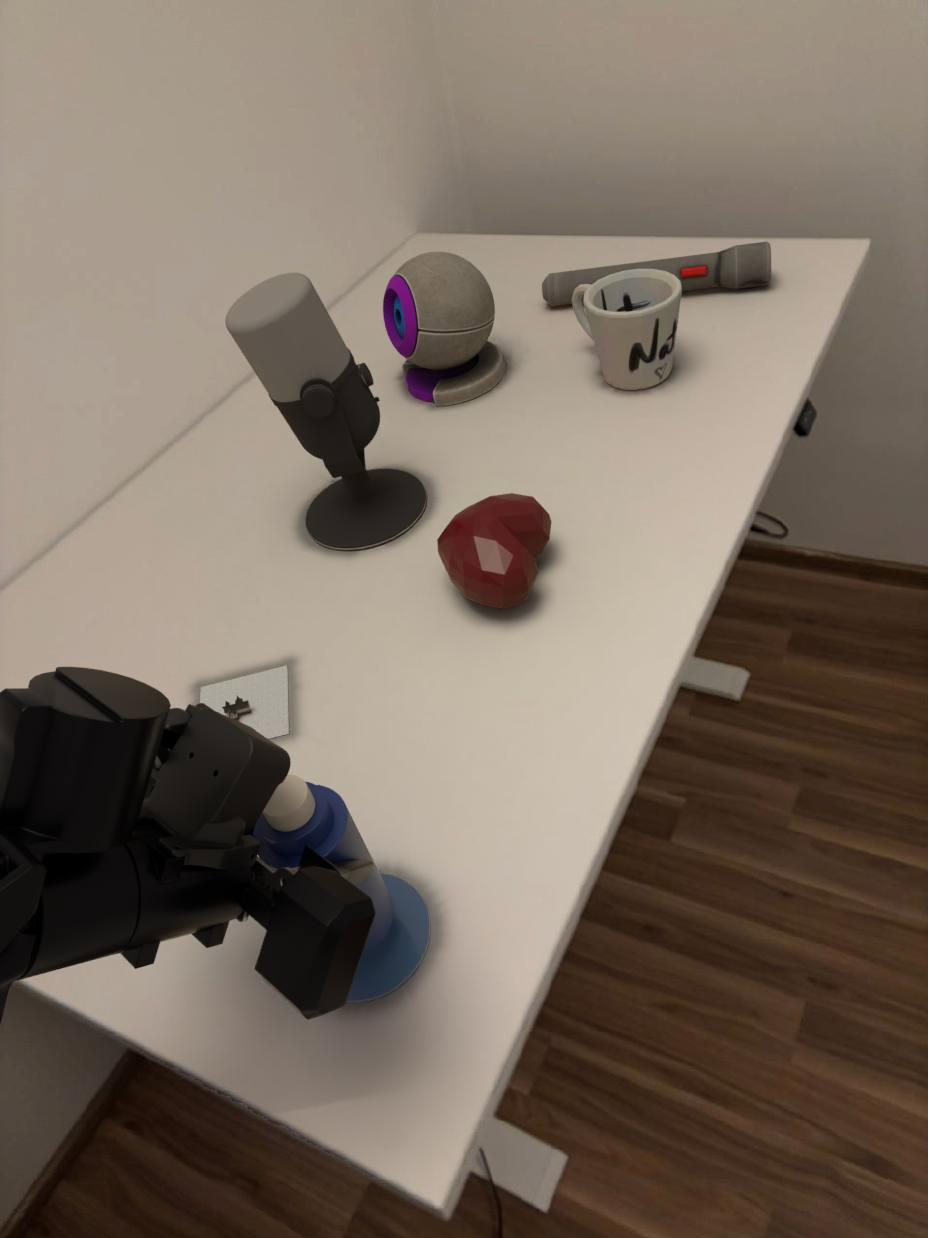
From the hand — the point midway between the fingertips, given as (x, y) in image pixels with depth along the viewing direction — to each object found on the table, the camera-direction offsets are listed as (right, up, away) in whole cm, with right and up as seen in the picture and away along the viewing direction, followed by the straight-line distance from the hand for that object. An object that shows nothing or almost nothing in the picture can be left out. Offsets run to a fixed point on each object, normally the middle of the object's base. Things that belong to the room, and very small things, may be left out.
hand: (336, 844), depth 55 cm
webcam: (+7, +43, +57) cm, 72 cm away
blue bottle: (0, -6, +4) cm, 7 cm away
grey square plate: (-11, +6, +23) cm, 27 cm away
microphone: (-2, +25, +40) cm, 48 cm away
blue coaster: (+1, -8, +6) cm, 10 cm away
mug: (+26, +43, +50) cm, 71 cm away
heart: (+11, +17, +29) cm, 35 cm away
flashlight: (+32, +55, +61) cm, 88 cm away
